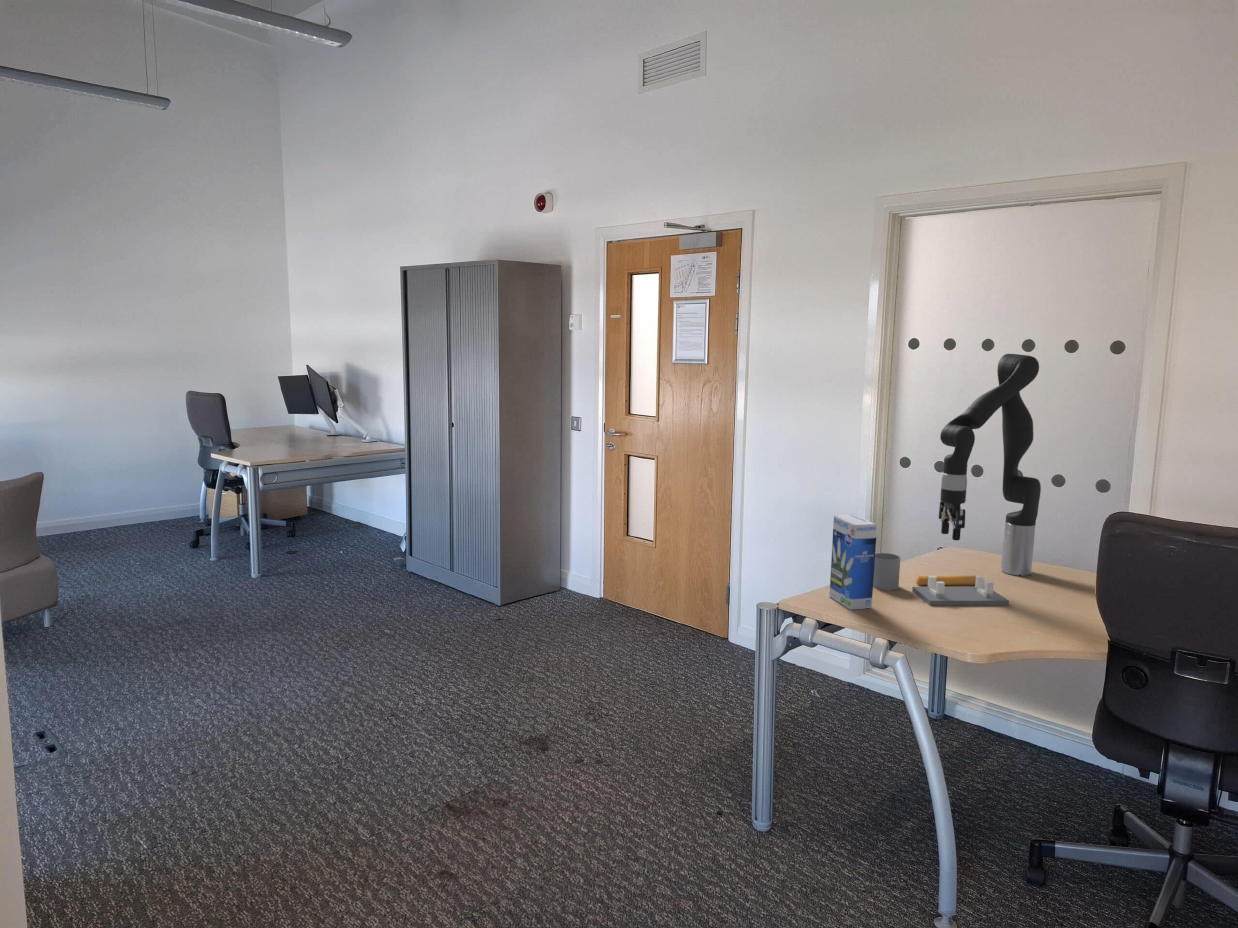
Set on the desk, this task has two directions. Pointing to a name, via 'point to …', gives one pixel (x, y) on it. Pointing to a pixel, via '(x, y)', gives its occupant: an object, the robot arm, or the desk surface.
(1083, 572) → the desk surface
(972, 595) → the board
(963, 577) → the orange rod
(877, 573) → the cup
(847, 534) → the string lights box
